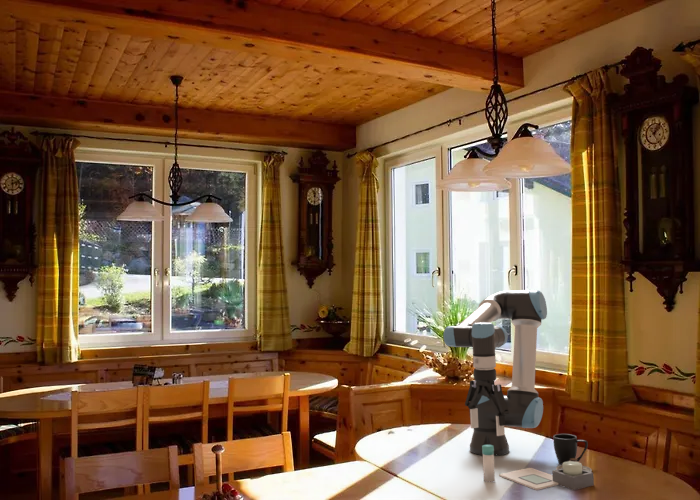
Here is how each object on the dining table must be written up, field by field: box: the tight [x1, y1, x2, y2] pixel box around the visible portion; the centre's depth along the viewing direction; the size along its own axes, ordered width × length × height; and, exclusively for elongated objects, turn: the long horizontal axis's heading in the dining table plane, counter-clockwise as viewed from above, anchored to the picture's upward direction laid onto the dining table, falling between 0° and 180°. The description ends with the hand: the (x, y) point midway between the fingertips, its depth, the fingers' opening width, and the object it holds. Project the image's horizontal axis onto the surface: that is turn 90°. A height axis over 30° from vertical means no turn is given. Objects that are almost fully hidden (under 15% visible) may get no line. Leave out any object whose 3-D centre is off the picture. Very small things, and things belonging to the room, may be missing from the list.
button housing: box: [551, 468, 595, 491], centre depth 212 cm, size 9×9×4 cm
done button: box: [562, 461, 583, 476], centre depth 212 cm, size 6×6×4 cm
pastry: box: [555, 457, 593, 473], centre depth 226 cm, size 12×12×5 cm
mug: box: [552, 433, 589, 465], centre depth 235 cm, size 8×12×10 cm
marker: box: [482, 445, 496, 483], centre depth 219 cm, size 4×4×12 cm
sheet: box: [498, 467, 559, 491], centre depth 219 cm, size 18×14×1 cm
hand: (487, 431), depth 219 cm, fingers open, 13 cm apart
